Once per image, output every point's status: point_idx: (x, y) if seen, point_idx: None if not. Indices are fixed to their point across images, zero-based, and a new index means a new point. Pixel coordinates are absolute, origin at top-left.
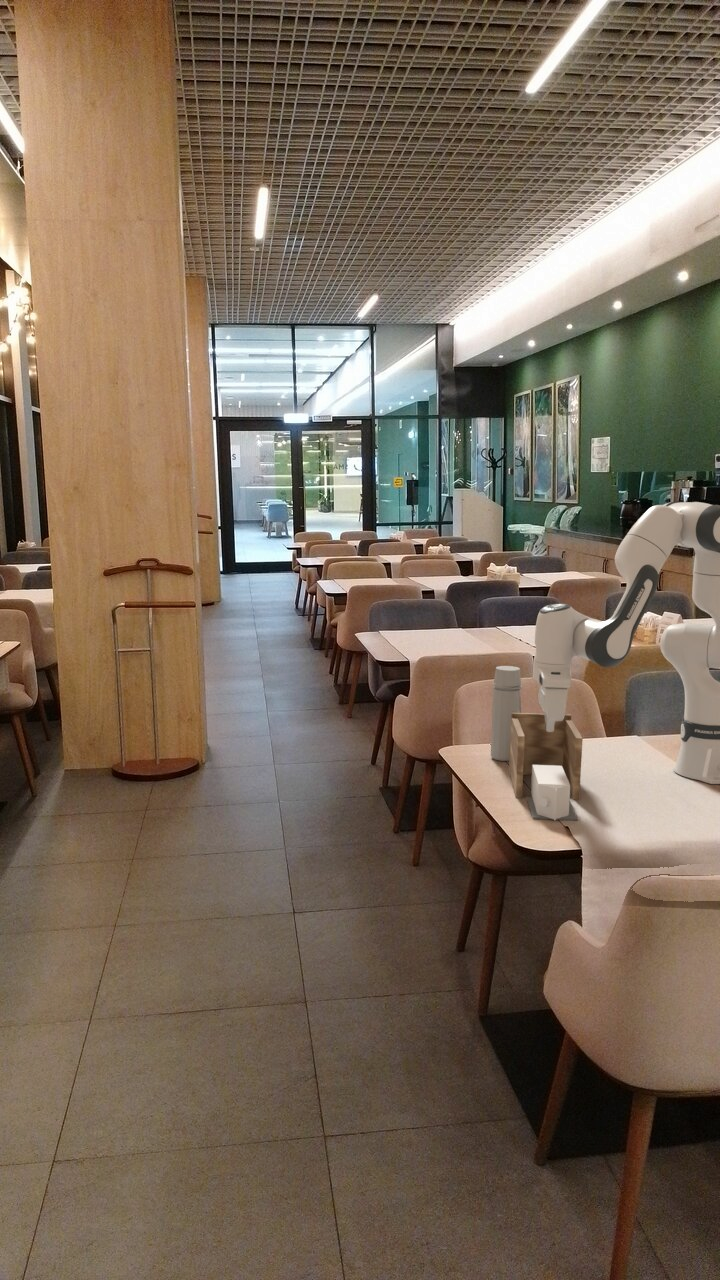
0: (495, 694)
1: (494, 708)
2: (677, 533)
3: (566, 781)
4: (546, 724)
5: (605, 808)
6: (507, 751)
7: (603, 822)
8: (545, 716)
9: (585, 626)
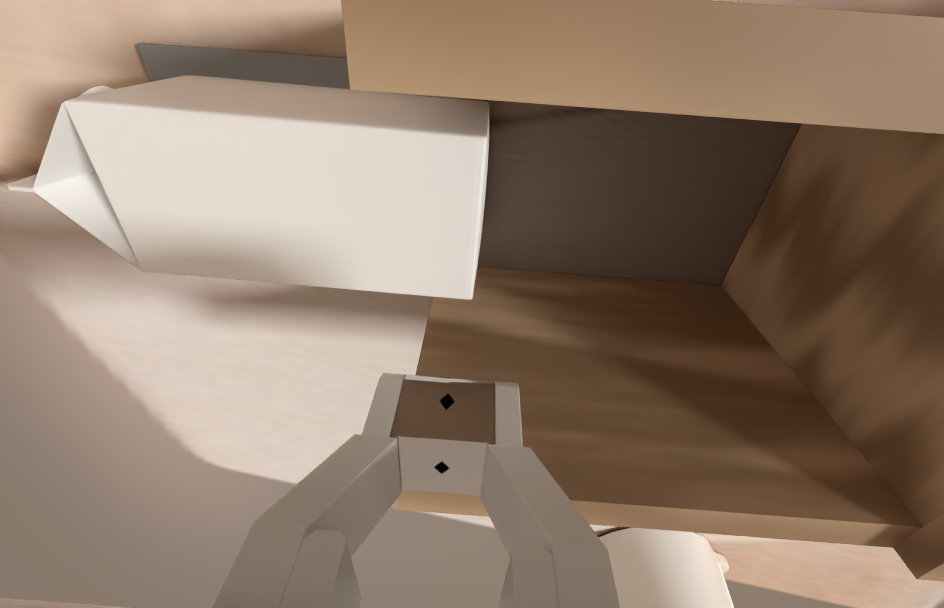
0: None
1: None
2: None
3: (195, 267)
4: (366, 430)
5: (362, 336)
6: None
7: (227, 302)
8: (530, 512)
9: None
